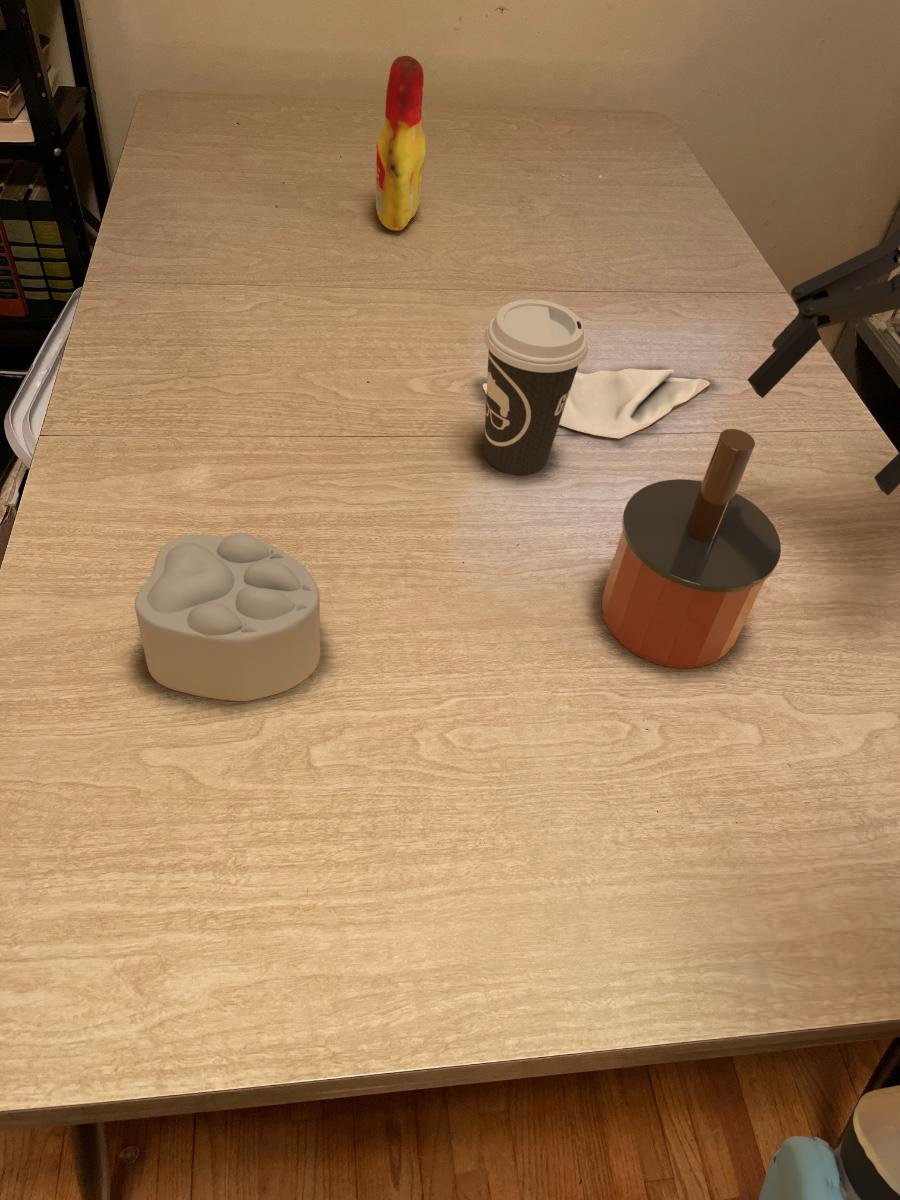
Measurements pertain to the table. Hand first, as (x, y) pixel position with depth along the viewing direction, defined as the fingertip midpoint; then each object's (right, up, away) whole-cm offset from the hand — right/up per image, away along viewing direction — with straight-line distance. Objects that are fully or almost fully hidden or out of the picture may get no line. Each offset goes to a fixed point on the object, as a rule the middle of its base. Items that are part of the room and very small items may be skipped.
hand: (814, 435), depth 76 cm
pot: (-10, -14, +8) cm, 19 cm away
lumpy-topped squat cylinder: (-46, -17, +1) cm, 49 cm away
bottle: (-36, +39, +54) cm, 76 cm away
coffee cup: (-22, +2, +22) cm, 31 cm away
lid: (-9, -8, +1) cm, 12 cm away
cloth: (-12, +9, +29) cm, 33 cm away
